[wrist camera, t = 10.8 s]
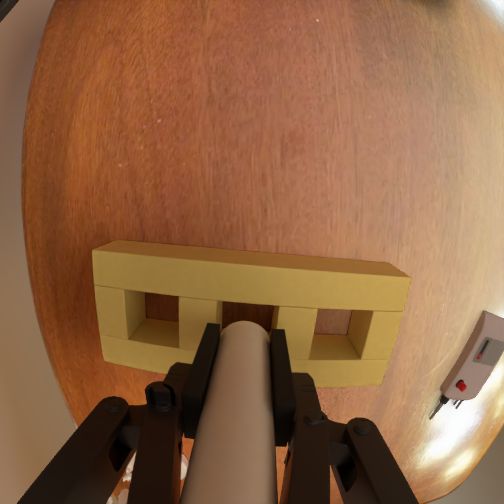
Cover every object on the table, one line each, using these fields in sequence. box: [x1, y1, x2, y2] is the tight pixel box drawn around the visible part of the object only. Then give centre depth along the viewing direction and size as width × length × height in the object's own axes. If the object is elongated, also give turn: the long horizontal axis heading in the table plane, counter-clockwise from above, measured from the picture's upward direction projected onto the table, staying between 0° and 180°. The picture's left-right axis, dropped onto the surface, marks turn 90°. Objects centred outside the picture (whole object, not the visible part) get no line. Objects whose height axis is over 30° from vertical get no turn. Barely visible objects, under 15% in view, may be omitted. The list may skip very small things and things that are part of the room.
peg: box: [179, 321, 278, 504], centre depth 11 cm, size 3×3×12 cm
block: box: [92, 240, 412, 387], centre depth 20 cm, size 9×22×4 cm, turn 85°
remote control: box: [429, 310, 504, 420], centre depth 22 cm, size 7×16×3 cm, turn 161°
